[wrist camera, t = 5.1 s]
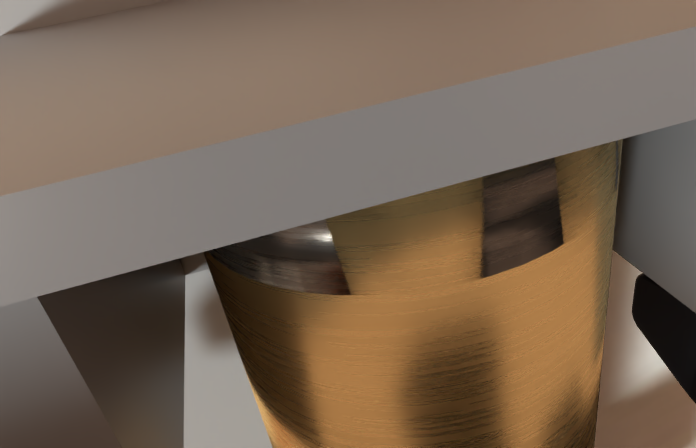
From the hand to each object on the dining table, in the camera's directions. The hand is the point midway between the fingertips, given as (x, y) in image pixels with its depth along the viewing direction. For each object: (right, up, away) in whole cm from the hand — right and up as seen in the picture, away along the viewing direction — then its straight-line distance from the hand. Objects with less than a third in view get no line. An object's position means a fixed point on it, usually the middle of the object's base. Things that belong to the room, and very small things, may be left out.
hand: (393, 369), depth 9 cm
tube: (0, -2, +1) cm, 2 cm away
